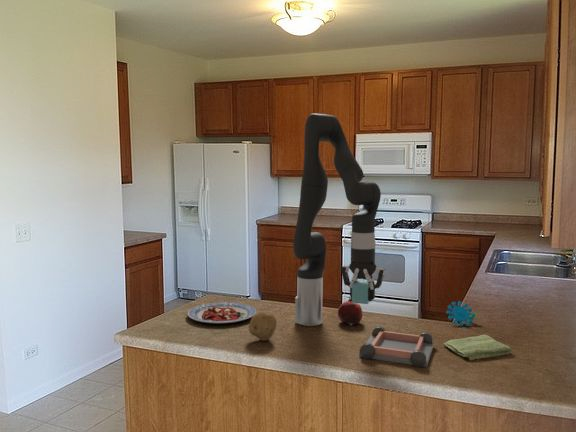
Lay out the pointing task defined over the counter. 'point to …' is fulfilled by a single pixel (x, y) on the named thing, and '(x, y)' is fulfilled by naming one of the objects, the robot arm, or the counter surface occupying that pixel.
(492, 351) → the washcloth
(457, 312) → the gear
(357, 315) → the fruit
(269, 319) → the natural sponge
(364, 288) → the teal glassy cube
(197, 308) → the ceramic plate
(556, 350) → the counter surface
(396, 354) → the chassis
